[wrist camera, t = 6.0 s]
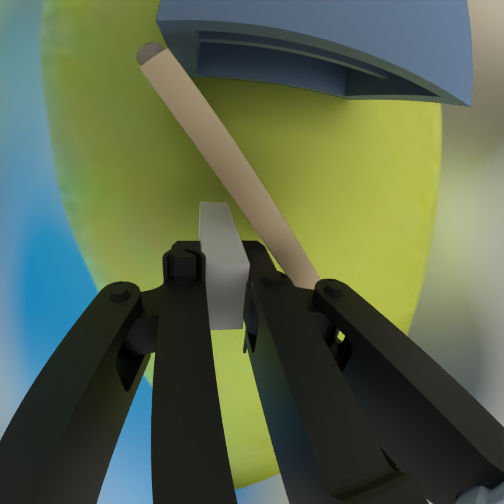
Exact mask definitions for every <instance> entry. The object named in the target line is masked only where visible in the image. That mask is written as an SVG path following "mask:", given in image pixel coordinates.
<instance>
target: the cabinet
mask: <svg viewBox="0 0 504 504" xmlns="http://www.w3.org/2000/svg"><path fill="white" fill-rule="evenodd" d="M156 21H157V24H158V26H159V28H160V30H161V33H162V35H163V37H164V39H165V42H166V44H167V46H168V48H169V50H170V52H171V53H172V54H173V56H174V57H175V58H176V60H177V61H178V62H179V64H180V65H181V66H182V68H183V69H184V70H185V72H186V73H187V74H188V76H189V77H205V78H223V79H236V80H247V81H255V82H264V83H271V84H278V85H284V86H290V87H295V88H301V89H306V90H311V91H316V92H320V93H325V94H329V95H333V96H337V97H341V98H345V99H349V100H369V99H376V100H409V101H424V102H435V103H444V104H453V105H460V106H467V107H471V102H472V79H473V78H472V77H473V73H472V72H473V64H472V40H471V28H470V20H469V12H468V5H467V0H160V5H159V10H158V15H157V20H156Z"/></svg>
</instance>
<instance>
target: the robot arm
mask: <svg viewBox="0 0 504 504" xmlns="http://www.w3.org/2000/svg"><path fill="white" fill-rule="evenodd" d="M162 261H163V277H164V282H163V284H162V285H161V286H160V287H158V288H155V289H152V290H149V291H144V292H141V291H140V289H139V287H138V286H137V285H136V284H134V283H131V282H123V281H120V282H114V283H111V284H109V285H107V286H105V287H104V288H103V289H102V290H101V291H100V292H99V293H98V295H97V296H96V297H95V298H94V300H93V301H92V302H91V303H90V305H89V306H88V307H87V308H86V310H85V311H84V312H83V314H82V315H81V316H80V317H79V319H78V320H77V321H76V323H75V324H74V325H73V327H72V328H71V329H70V331H69V332H68V333H67V335H66V336H65V337H64V339H63V340H62V341H61V343H60V344H59V346H58V347H57V348H56V350H55V352H54V353H53V354H52V356H51V357H50V359H49V360H48V362H47V363H46V364H45V366H44V367H43V369H42V370H41V372H40V374H39V375H38V376H37V378H36V379H35V381H34V383H33V384H32V386H31V387H30V389H29V391H28V392H27V394H26V395H25V397H24V399H23V401H22V402H21V404H20V406H19V407H18V409H17V411H16V413H15V414H14V416H13V418H12V420H11V421H10V423H9V425H8V427H7V429H6V431H5V433H4V435H3V436H2V438H1V441H0V504H96V503H97V500H98V497H99V494H100V490H101V487H102V484H103V481H104V478H105V475H106V472H107V469H108V466H109V463H110V460H111V457H112V454H113V452H114V449H115V446H116V443H117V441H118V438H119V435H120V432H121V430H122V427H123V424H124V422H125V419H126V416H127V414H128V411H129V409H130V406H131V404H132V401H133V398H134V396H135V393H136V391H137V388H138V386H139V384H140V381H141V379H142V376H143V374H144V371H145V369H146V367H147V364H148V362H149V360H150V356H151V353H153V352H155V361H154V375H153V391H152V416H151V467H152V468H151V469H152V492H153V504H237V499H236V495H235V490H234V485H233V480H232V475H231V469H230V464H229V459H228V453H227V447H226V441H225V435H224V429H223V423H222V417H221V410H220V403H219V396H218V389H217V382H216V374H215V367H214V359H213V350H212V342H211V333H210V330H224V329H242V328H243V320H244V322H245V325H246V331H245V339H244V347H243V353H246V350H247V349H248V353H249V357H250V361H251V365H252V369H253V373H254V377H255V381H256V385H257V389H258V393H259V397H260V401H261V404H262V408H263V412H264V416H265V419H266V423H267V427H268V431H269V434H270V438H271V441H272V445H273V449H274V452H275V456H276V459H277V463H278V466H279V470H280V473H281V476H282V480H283V483H284V487H285V490H286V494H287V497H288V500H289V504H429V503H428V501H427V499H428V500H429V501H430V502H431V503H433V504H504V427H503V426H502V425H501V424H500V423H499V422H498V421H497V420H496V419H495V418H494V417H493V416H492V415H491V414H490V413H489V412H488V411H487V410H486V409H485V408H484V407H483V406H482V405H481V404H480V403H479V402H478V401H477V400H476V399H475V398H474V397H472V395H470V394H469V393H468V392H467V391H466V390H465V389H464V388H463V387H462V386H461V385H460V384H459V383H458V382H457V381H456V380H455V379H454V378H453V377H451V376H450V375H449V374H448V373H447V372H446V371H445V370H444V369H443V368H442V367H441V366H440V365H439V364H437V363H436V362H435V361H434V360H433V359H432V358H431V357H430V356H429V355H427V354H426V353H425V352H424V351H423V350H422V349H421V348H420V347H419V346H417V345H416V344H415V343H414V342H413V341H412V340H411V339H410V338H409V337H407V336H406V335H405V334H404V333H403V332H402V331H401V330H399V329H398V328H397V327H396V326H395V325H394V324H393V323H391V322H390V321H389V320H388V319H387V318H386V317H384V316H383V315H382V314H381V313H380V312H379V311H377V310H376V309H375V308H374V307H373V306H372V305H370V304H369V303H368V302H367V301H366V300H365V299H363V298H362V297H361V296H360V295H359V294H357V293H356V292H355V291H354V290H353V289H351V288H350V287H349V286H348V285H346V284H345V283H343V282H341V281H338V280H336V279H322V280H319V281H317V283H316V284H315V287H314V290H313V289H306V288H300V287H296V286H294V284H293V282H292V280H291V279H290V278H289V277H288V275H286V274H284V273H282V272H280V271H277V270H276V268H275V266H274V264H273V262H272V260H271V258H270V256H269V254H268V253H267V250H266V248H265V246H264V245H262V244H261V243H260V242H258V241H241V239H240V236H239V233H238V230H237V228H236V225H235V222H234V219H233V217H232V214H231V211H230V208H229V205H228V203H227V202H200V211H199V241H177V242H176V243H174V244H173V245H172V248H171V250H169V251H167V252H166V253H165V254H164V255H163V257H162ZM339 331H341V332H342V333H343V334H344V335H345V338H344V340H343V341H341V340H339V339H338V337H337V336H338V334H339ZM379 445H380V446H379ZM380 447H381V448H382V449H383V450H384V451H385V453H386V454H387V455H388V456H389V457H390V458H391V460H392V461H393V462H394V463H395V464H396V465H397V466H398V468H399V469H400V470H401V471H402V472H400V471H395V470H394V469H392V468H391V467H390V465H389V464H388V462H387V460H386V458H385V456H384V454H383V452H382V450H381V448H380ZM426 498H427V499H426Z"/></svg>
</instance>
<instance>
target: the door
mask: <svg viewBox="0 0 504 504" xmlns="http://www.w3.org/2000/svg"><path fill="white" fill-rule="evenodd" d="M137 60H138V62H139V63H140V64H141V66H140V67H139V69H140V71H141V72H142V73H143V75H144V76H145V77H146V79H147V80H148V81H149V83H150V84H151V85H152V87H153V88H154V89H155V91H156V92H157V93H158V95H159V96H160V98H161V99H162V100H163V102H164V103H165V104H166V106H167V107H168V108H169V110H170V111H171V113H172V114H173V115H174V117H175V118H176V119H177V121H178V122H179V124H180V125H181V126H182V128H183V129H184V130H185V132H186V133H187V135H188V136H189V137H190V139H191V140H192V141H193V143H194V144H195V146H196V147H197V148H198V150H199V151H200V153H201V154H202V155H203V157H204V158H205V160H206V161H207V162H208V164H209V165H210V167H211V168H212V169H213V171H214V172H215V174H216V175H217V176H218V178H219V179H220V181H221V182H222V183H223V185H224V186H225V188H226V189H227V191H228V192H229V193H230V195H231V196H232V198H233V199H234V200H235V202H236V203H237V205H238V206H239V208H240V209H241V210H242V212H243V213H244V215H245V216H246V218H247V219H248V220H249V222H250V223H251V225H252V226H253V228H254V229H255V230H256V232H257V233H258V235H259V236H260V238H261V239H262V241H263V242H264V243H265V245H266V246H267V248H268V249H269V251H270V252H271V254H272V255H273V256H274V258H275V259H276V261H277V262H278V264H279V265H280V267H281V268H282V270H283V271H284V272H285V274H286V275H288V277H289V278H290V279H291V280H292V282H293V284H294V286H296V287H300V288H306V289H313V290H314V287H315V284H316V283H317V281H319V280H320V278H319V276H318V274H317V273H316V271H315V269H314V267H313V266H312V264H311V262H310V261H309V259H308V257H307V256H306V254H305V252H304V250H303V249H302V247H301V245H300V244H299V242H298V240H297V239H296V237H295V235H294V234H293V232H292V230H291V229H290V227H289V226H288V224H287V222H286V221H285V219H284V217H283V216H282V214H281V213H280V211H279V209H278V208H277V206H276V204H275V203H274V201H273V200H272V198H271V197H270V195H269V193H268V192H267V190H266V189H265V187H264V186H263V184H262V182H261V181H260V179H259V178H258V176H257V175H256V173H255V172H254V170H253V168H252V167H251V165H250V164H249V162H248V161H247V159H246V158H245V156H244V155H243V153H242V152H241V150H240V149H239V147H238V146H237V144H236V143H235V141H234V140H233V138H232V137H231V135H230V134H229V132H228V131H227V129H226V128H225V127H224V125H223V124H222V122H221V121H220V119H219V118H218V116H217V115H216V114H215V112H214V111H213V109H212V108H211V106H210V105H209V104H208V102H207V101H206V99H205V98H204V97H203V95H202V94H201V92H200V91H199V90H198V88H197V87H196V85H195V84H194V83H193V81H192V80H191V79H190V77H189V76H188V74H187V73H186V72H185V70H184V69H183V68H182V66H181V65H180V64H179V62H178V61H177V60H176V58H175V57H174V56H173V54H172V53H171V52H170V50H169V49H168V48H166V49H165V50H164V49H163V47H162V46H161V45H160V44H158V43H155V42H151V43H147V44H145V45H143V46H142V47H141V48H140V49H139V51H138V53H137Z"/></svg>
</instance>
